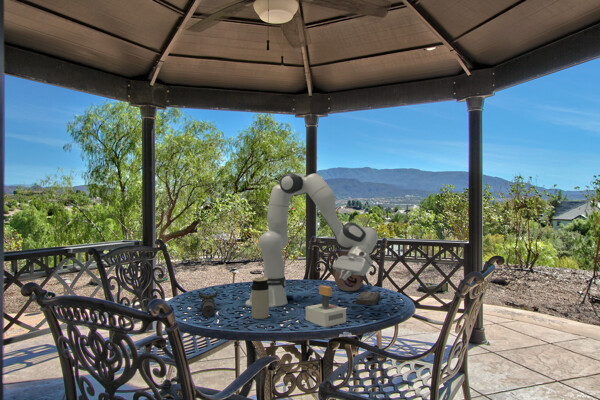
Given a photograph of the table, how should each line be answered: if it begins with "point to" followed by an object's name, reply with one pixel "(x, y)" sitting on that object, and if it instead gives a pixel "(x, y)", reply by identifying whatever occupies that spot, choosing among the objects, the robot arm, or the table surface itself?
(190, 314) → the table surface
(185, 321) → the table surface
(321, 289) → the lever
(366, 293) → the box
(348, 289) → the ceramic pitcher
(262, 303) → the travel mug
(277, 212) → the robot arm
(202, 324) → the table surface
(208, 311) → the laser sight
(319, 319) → the block
